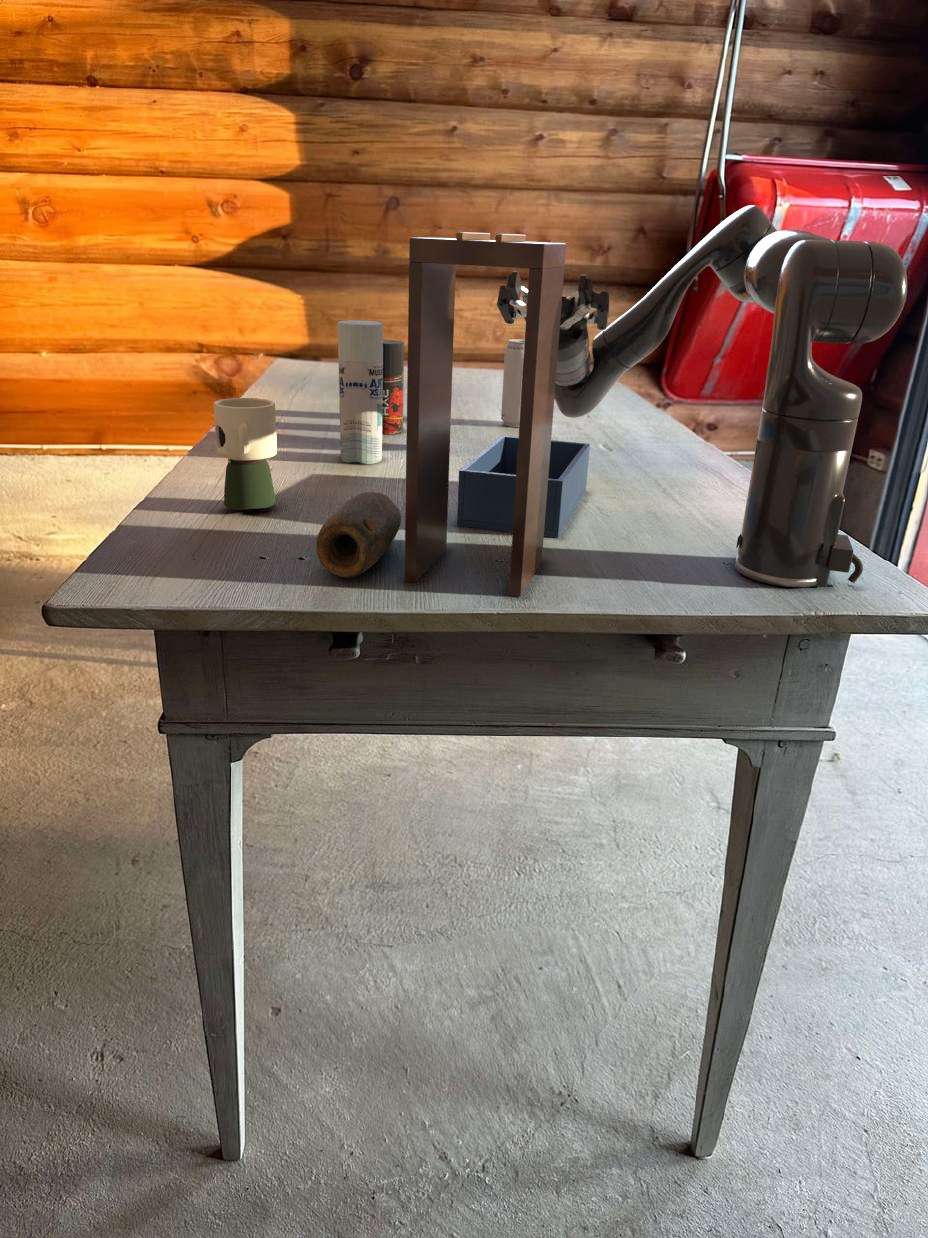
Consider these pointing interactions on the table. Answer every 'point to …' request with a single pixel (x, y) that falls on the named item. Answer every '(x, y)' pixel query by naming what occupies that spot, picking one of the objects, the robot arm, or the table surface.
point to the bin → (494, 481)
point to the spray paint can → (360, 390)
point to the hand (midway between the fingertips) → (547, 279)
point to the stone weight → (358, 534)
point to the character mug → (246, 450)
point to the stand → (434, 391)
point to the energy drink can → (512, 382)
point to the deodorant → (392, 387)
